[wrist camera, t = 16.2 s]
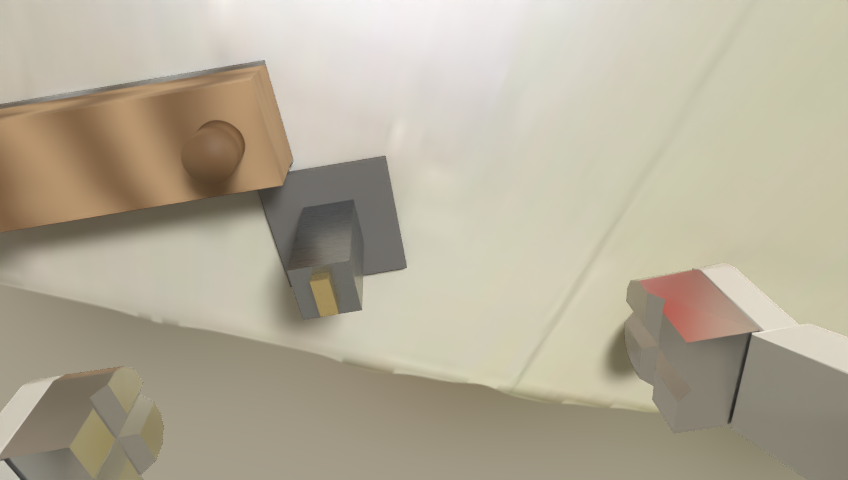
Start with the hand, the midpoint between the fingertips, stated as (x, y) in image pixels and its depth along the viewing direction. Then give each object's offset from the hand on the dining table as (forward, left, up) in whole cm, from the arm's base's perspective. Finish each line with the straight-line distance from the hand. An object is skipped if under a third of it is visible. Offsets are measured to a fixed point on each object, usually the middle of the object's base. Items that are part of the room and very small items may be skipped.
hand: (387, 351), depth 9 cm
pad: (+4, -14, -31) cm, 34 cm away
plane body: (-12, -15, -31) cm, 37 cm away
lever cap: (+4, -14, -30) cm, 34 cm away
